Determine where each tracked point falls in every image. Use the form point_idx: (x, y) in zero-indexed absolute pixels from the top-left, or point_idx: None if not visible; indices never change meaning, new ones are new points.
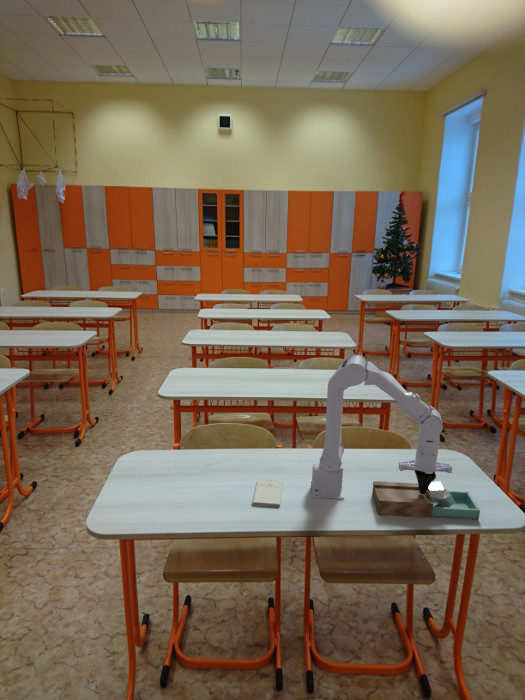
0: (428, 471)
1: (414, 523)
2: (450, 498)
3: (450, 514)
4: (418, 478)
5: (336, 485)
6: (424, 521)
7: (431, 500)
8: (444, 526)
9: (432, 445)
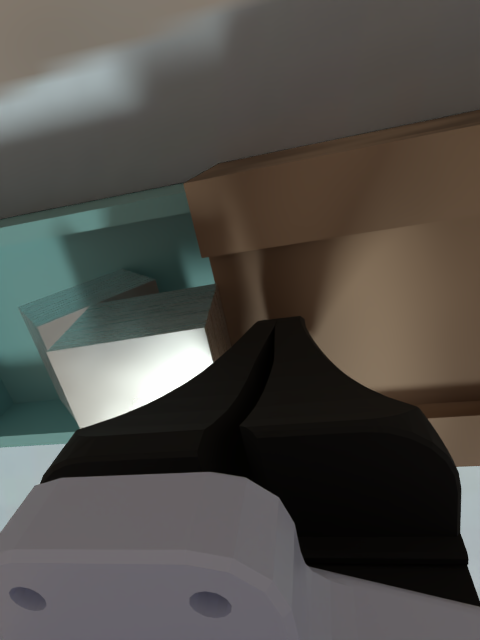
0: (138, 576)
1: (373, 25)
2: (39, 317)
3: (74, 206)
4: (405, 405)
5: None
6: (278, 92)
7: (200, 236)
8: (123, 70)
9: None
